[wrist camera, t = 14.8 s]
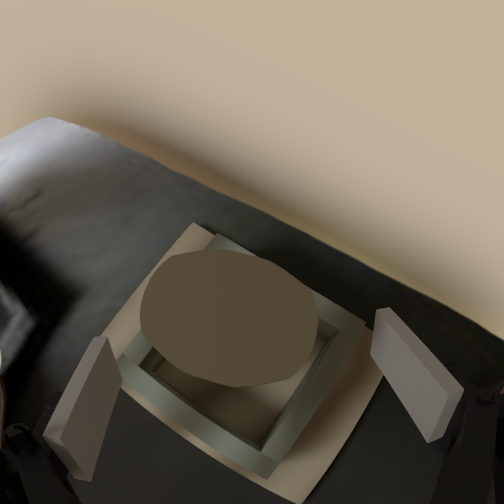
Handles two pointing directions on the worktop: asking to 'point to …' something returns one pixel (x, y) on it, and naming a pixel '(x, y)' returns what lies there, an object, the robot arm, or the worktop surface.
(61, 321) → the worktop surface
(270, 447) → the socket board
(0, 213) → the worktop surface
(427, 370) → the robot arm
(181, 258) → the handle
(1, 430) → the tin
